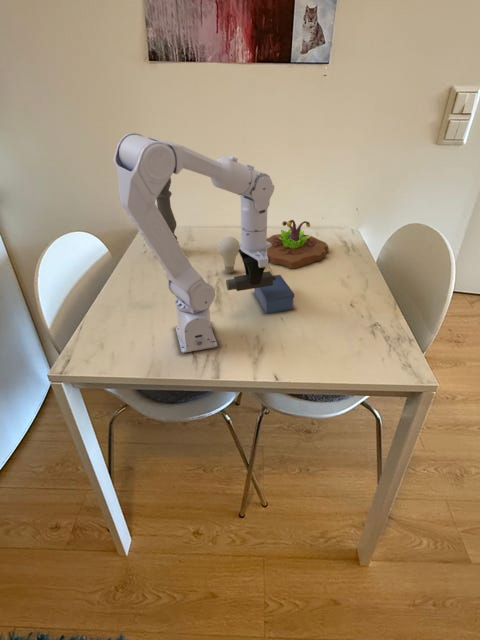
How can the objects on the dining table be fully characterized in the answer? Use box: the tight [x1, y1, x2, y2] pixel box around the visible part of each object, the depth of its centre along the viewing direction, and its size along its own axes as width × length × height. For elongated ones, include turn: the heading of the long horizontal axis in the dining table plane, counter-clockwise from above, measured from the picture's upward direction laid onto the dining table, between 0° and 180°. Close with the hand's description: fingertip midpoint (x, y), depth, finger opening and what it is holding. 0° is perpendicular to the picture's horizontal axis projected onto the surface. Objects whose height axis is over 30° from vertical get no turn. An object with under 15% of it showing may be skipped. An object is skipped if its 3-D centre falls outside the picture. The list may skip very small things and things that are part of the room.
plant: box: [267, 219, 329, 270], centre depth 125 cm, size 20×20×11 cm
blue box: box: [253, 274, 296, 314], centre depth 105 cm, size 10×7×4 cm
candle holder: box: [156, 176, 180, 245], centre depth 122 cm, size 6×6×25 cm
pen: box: [225, 270, 276, 292], centre depth 98 cm, size 12×3×3 cm, turn 106°
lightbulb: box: [217, 235, 240, 274], centre depth 115 cm, size 6×6×11 cm
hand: (253, 280), depth 98 cm, fingers closed on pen, 2 cm apart
